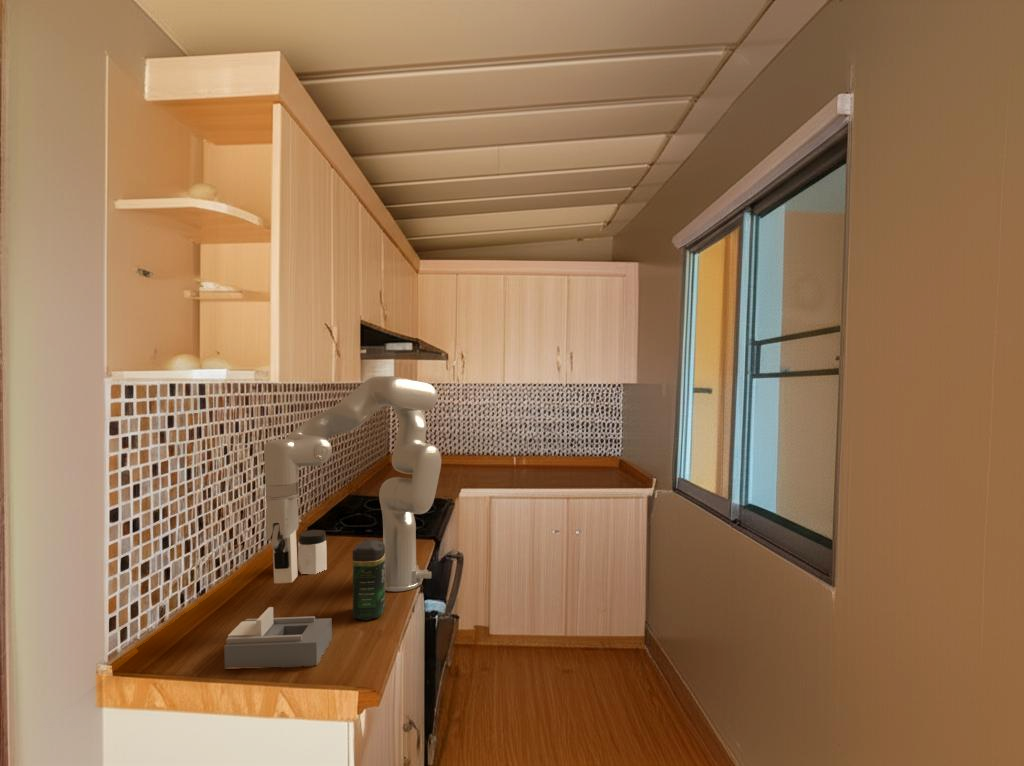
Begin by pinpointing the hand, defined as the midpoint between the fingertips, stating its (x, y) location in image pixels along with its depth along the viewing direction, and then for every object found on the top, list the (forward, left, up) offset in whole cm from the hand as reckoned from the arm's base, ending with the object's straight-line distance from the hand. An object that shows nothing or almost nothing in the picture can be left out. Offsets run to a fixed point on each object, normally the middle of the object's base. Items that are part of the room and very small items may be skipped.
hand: (285, 563), depth 134 cm
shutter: (+3, +12, -11) cm, 17 cm away
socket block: (-3, +12, -16) cm, 21 cm away
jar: (+6, -43, -16) cm, 46 cm away
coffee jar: (-19, -8, -16) cm, 26 cm away
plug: (0, 0, -4) cm, 4 cm away
